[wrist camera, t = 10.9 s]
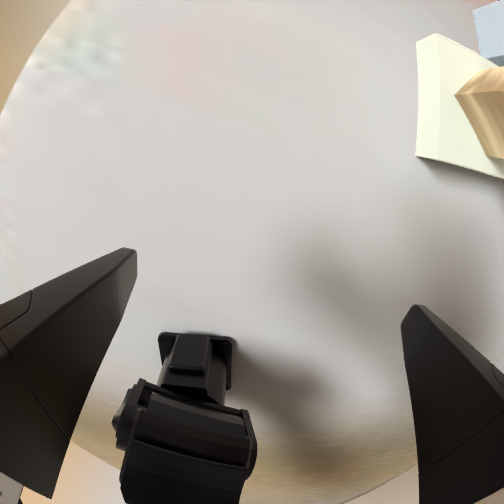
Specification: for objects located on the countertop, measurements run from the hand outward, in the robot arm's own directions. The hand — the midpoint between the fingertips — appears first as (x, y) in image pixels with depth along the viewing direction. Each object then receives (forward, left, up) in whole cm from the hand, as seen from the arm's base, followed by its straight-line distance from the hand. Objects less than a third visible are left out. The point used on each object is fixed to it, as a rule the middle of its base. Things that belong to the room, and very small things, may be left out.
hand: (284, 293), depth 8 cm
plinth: (+10, -17, -13) cm, 24 cm away
